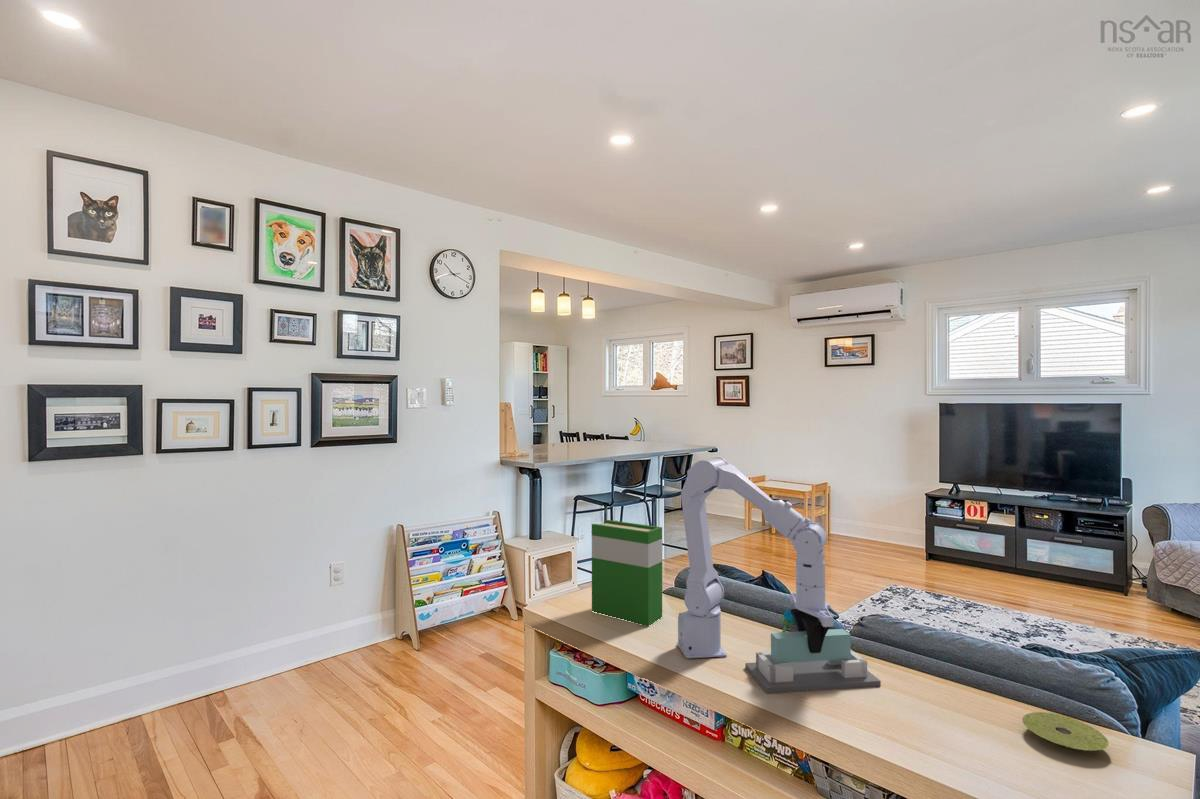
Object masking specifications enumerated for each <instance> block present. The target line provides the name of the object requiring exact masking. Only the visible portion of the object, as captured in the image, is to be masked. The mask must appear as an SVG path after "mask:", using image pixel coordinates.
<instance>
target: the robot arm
mask: <svg viewBox="0 0 1200 799" xmlns="http://www.w3.org/2000/svg"><path fill="white" fill-rule="evenodd" d="M686 473H687V476H686V479H685V482H684V483H683V488H682V490H681V492H680V498H681V506H682V514H683V515H682V516H683V522H684V530H685V540H686V548H687V554H688V562H689V563H688V564H689V573H688V576H687V578H686V581H685V584H686V590H685V594H684V598H683V599H684V601H683V602H684V605H685V606H686V608H687V610H686V611H681V612H679V613H678V618H677V638H678V639H677V644H676V645H677V646H678V647H679V649H680V651H681V653H683V656H684V657H685V658H686V659H701V658H715V657H716V658H718V657H719V658H720V657H721V658H722V657H727V656H728V654H727V652H726V651H725V649H724V648H723V647H722V645H721V643H722V642H721V638H722V637H721V634H722V633H721V630H722V629H721V628H722V627H721V626H722V624H721V621H722V619H721V617H722V616H721V613H722V611H721V607H720V603H721V602H723V600H724V598H725V589H724V586H723V584H722V583H721V580H720V579H719V578H720V576H719V573H718V571H717V570H716V569H715V568H714V563H713V556H712V547H711V540H710V530H709V524H708V515H707V508H706V499H707V498H708V496H709V495H710V494H711V493H712V492H713V491H714V490H715V489H719V490H732V491H734V492H735V493H736V494H738V495H739V496H741V497H742V498H744V499H745V501H748V502H749V503H750V504H752V505H753V506H754V507H756V508H757V509H759V511H762V513H763V517H764V521H765V522H766V523H767V524H769V525H770V526H772V528H774V529H775V530H777V531H778V532H779V533H780V534H781V535H782V536H783V537H785V538H786V539H787V540H789V541H791V543H792V546H793V549H794V550H795V551H796V556H795V557H796V559H795V592H790V593H789V595H790V596H789V597H790V599H789V600H790V603H791V604H794V607H795V608H792V609H790V611H791V614H792V616H793V618H794V620H795V623H796V626H797V629H798V631H806V633H807V639H808V647H809V651H810V653H820V652H821V649H822V645H823V641H824V638H825V635H826V633H827V631H828V630H830V628H831V627H834V616H832V615H831V613H830V611H829V609H830V608H831V604H830V603H828V602H827V601H826V562H825V556H826V555H825V549H824V548H825V546H826V545H827V543H828V533H827V532H826V530H825V529H824V527H822V525H821V524H820V523H817V522H815V521H814V522H813V521H812V520H811V519H810V518H809V517H804V516H803V515H802V514H801V513H799V512H798V511H797V510H795V509H794V508H793V507H792V506H793V504H792V503H791V502H790V501H786V502H785V501H784V500H783V499H776V500H774V499H772V498H771V497H770V496H769V495H767V493H765V492H764V491H763V490H762V489H760V488H759V486H757V485H756V484H755V483H753V481H751V480H750V479H749V478H748V477H747V476H746V475H745V474H743V473H742V472H741V471H740V470H739V469H738V468H737V467H736V466H734V465H733V464H732V463H729V462H728V461H727V460H726V459H724V458H723V457H719V456H718V457H712V458H710V459H702V460H698V461H696V462H695V463H694V464H693V465H692V466H691V467H690V468H689V469H688V470H687V471H686Z"/></svg>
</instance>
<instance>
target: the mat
mask: <svg viewBox="0 0 1200 799" xmlns="http://www.w3.org/2000/svg"><path fill="white" fill-rule="evenodd" d="M1021 721H1022V723H1023V724H1024V726H1025V727H1026V728H1027V729H1028V730H1030V731H1031V733H1034V734H1036V735H1037V736H1039V737H1040V738H1043V739H1046V740H1047V741H1049V742H1052V743H1054V744H1057V745H1060V746H1064V747H1066V748H1071V749H1075V750H1082V751H1101V750H1104V749H1105V750H1106V749H1107V748H1108V746H1109V740H1108V739H1107V737H1106V735H1104V734H1103V733H1102V732H1100V731H1099V730H1098V729H1096V728H1095V727H1093V726H1091V725H1089V724H1087V723H1084V722H1083V721H1080V720H1077V719H1075V718H1072V717H1068V716H1065V715H1061V714H1057V713H1052V712H1043V711H1034V712H1029V713H1026V714H1024V715H1023V716H1022V720H1021Z"/></svg>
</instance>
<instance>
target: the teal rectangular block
mask: <svg viewBox="0 0 1200 799" xmlns="http://www.w3.org/2000/svg"><path fill="white" fill-rule="evenodd" d="M851 637H852V636H851V633H849V632H848V631H846V630H845V629H843V628H833V629H828V631H827V633H826V635H825V638H824V641H823V645H822V649H821V652H820V653H810V651H809V647H808V639H807V633H806V631H797V630H795V631H786V632H782V631H781V632H779V631H778V632H770V652H771V658H772V659H773V660H774V661H775V662H776V663H792V662H807V661H823V660H838V659H851V650H852V648H851V647H852V645H851V643H852V641H851V640H852V639H851Z"/></svg>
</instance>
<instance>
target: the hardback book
mask: <svg viewBox="0 0 1200 799" xmlns="http://www.w3.org/2000/svg"><path fill="white" fill-rule="evenodd" d="M592 611H594V612H597V613H601V614H605V615H608V616H612V617H616V618H620V619H624V620H627V621H631V622H634V623H638V624H642V625H646V626H649V625H651V624H652V625H654V624H655V623H656V622H655V621H657V620H658V619H660V618H661V617H662V618H663V526H654V525H647V524H641V523H640V524H639V523H634V522H625V521H618V520H610V519H605V520H604V523H602V524H600V523H591V612H592ZM660 620H661V619H660ZM654 622H655V623H654ZM657 622H658V621H657ZM634 623H633V624H634ZM653 623H654V624H653ZM638 624H637V625H638ZM642 625H641V626H642ZM652 625H651V626H652ZM646 626H645V627H646ZM649 627H650V626H649Z"/></svg>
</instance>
